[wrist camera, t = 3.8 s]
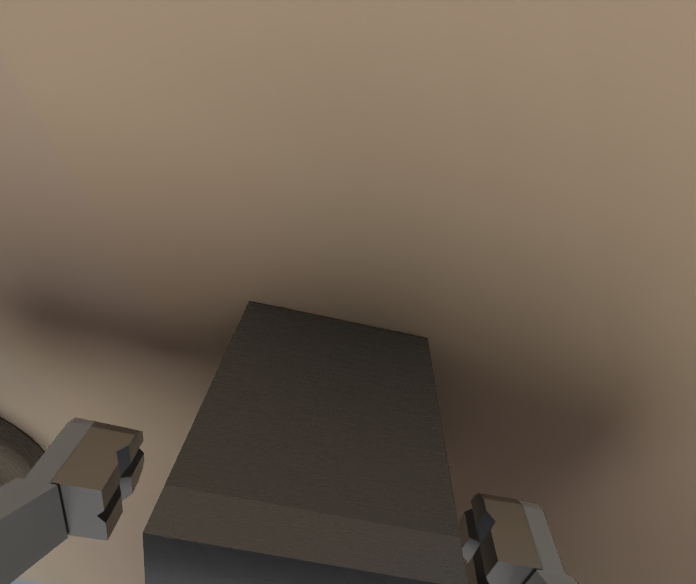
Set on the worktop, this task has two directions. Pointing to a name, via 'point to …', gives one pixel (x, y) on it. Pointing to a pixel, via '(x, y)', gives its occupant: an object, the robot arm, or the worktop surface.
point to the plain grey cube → (311, 464)
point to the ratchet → (16, 453)
